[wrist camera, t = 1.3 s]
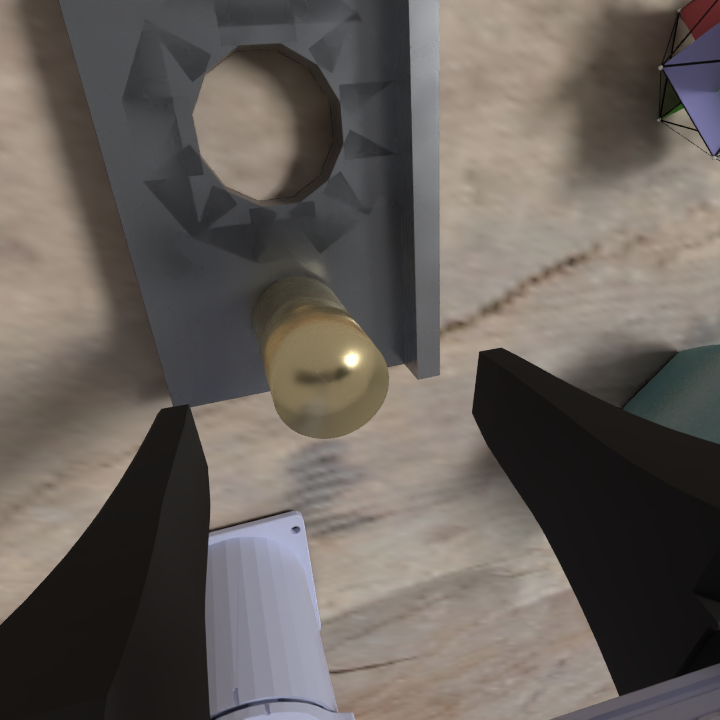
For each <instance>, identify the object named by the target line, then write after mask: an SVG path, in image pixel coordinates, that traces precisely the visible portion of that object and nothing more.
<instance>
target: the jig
mask: <svg viewBox="0 0 720 720" xmlns="http://www.w3.org/2000/svg"><path fill="white" fill-rule="evenodd" d="M59 4H60V7H61V11H62V14H63V18H64V21H65V25H66V28H67V32H68V36H69V39H70V43H71V46H72V50H73V53H74V57H75V60H76V64H77V67H78V71H79V75H80V78H81V82H82V85H83V89H84V92H85V96H86V99H87V103H88V106H89V110H90V114H91V117H92V121H93V124H94V128H95V131H96V135H97V138H98V142H99V145H100V149H101V153H102V156H103V160H104V163H105V167H106V170H107V174H108V177H109V181H110V184H111V188H112V192H113V195H114V199H115V202H116V206H117V209H118V213H119V216H120V220H121V223H122V227H123V231H124V234H125V238H126V241H127V245H128V248H129V252H130V255H131V259H132V263H133V266H134V270H135V273H136V277H137V280H138V284H139V287H140V291H141V294H142V298H143V302H144V305H145V309H146V312H147V316H148V319H149V323H150V326H151V330H152V333H153V337H154V341H155V344H156V348H157V351H158V355H159V358H160V362H161V365H162V369H163V372H164V376H165V380H166V383H167V387H168V390H169V394H170V397H171V401H172V404H173V407H175V406H180V405H186V404H189V406H190V407H194V406H199V405H204V404H209V403H214V402H219V401H224V400H229V399H234V398H238V397H243V396H248V395H253V394H258V393H263V392H268V391H270V387H269V383H268V380H267V376H266V372H265V369H264V365H263V362H262V358H261V354H260V351H259V347H258V343H257V340H256V336H255V332H254V329H253V311H254V308H255V305H256V303H257V300H258V299H259V297H260V296H261V294H262V293H263V292H264V291H265V290H266V289H267V288H268V287H269V286H270V285H272V284H273V283H275V282H277V281H279V280H281V279H284V278H287V277H291V276H306V277H311V278H314V279H317V280H319V281H321V282H322V283H324V284H325V285H327V286H328V287H329V288H330V289H331V290H332V291H333V293H334V294H335V295H336V297H337V298H338V299H339V300H340V302H341V303H342V304H343V305H344V307H345V308H346V309H347V310H348V312H349V313H350V314H351V316H352V317H353V318H354V319H355V321H356V322H357V323H358V324H359V326H360V327H361V328H362V330H363V331H364V332H365V333H366V335H367V336H368V337H369V338H370V340H371V341H372V342H373V344H374V345H375V346H376V347H377V349H378V350H379V351H380V353H381V354H382V356H383V357H384V359H385V362H386V364H387V367H391V366H396V365H401V364H405V365H406V366H407V367H408V369H409V370H410V371H411V372H412V373H413V375H414V376H415V377H416V378H417V379H418V380H419V379H424V378H428V377H433V376H438V375H440V265H439V0H59ZM263 49H275V50H277V51H278V52H280V53H282V54H284V55H285V56H287V57H289V58H291V59H292V60H294V61H296V62H298V63H299V64H301V65H303V66H305V67H306V68H308V69H309V70H310V72H311V74H312V75H313V77H314V78H315V80H316V82H317V83H318V85H319V87H320V88H321V90H322V92H323V93H324V95H325V96H326V98H327V100H328V101H329V103H330V112H331V123H332V134H333V144H332V146H331V149H330V151H329V154H328V156H327V159H326V161H325V164H324V166H323V168H322V171H321V173H320V176H319V177H317V178H316V179H315V180H313V181H312V182H311V183H310V184H308V185H307V186H306V187H305V188H303V189H302V190H301V191H299V192H298V193H297V194H296V195H294V196H293V197H287V198H278V199H270V200H262V201H258V200H256V199H253V198H251V197H249V196H247V195H244V194H242V193H240V192H237V191H235V190H233V189H230V188H228V187H226V186H225V185H224V184H223V183H222V182H221V180H220V179H219V178H218V177H217V175H216V174H215V173H214V172H213V170H212V169H211V168H210V167H209V165H208V164H207V163H206V162H205V160H204V159H203V158H202V156H201V155H200V151H199V146H198V141H197V136H196V131H195V126H194V121H193V116H192V113H193V110H194V107H195V104H196V101H197V98H198V95H199V92H200V89H201V85H202V82H203V79H204V76H205V75H206V74H207V73H208V72H210V71H211V70H212V69H213V68H215V67H216V66H217V65H218V64H220V63H221V62H222V61H223V60H225V59H226V58H227V57H228V56H230V55H231V54H232V53H233V52H235V51H244V50H263Z"/></svg>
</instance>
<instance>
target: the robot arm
mask: <svg viewBox="0 0 720 720" xmlns="http://www.w3.org/2000/svg"><path fill="white" fill-rule="evenodd" d="M472 414H473V416H474V418H475V420H476V423H477V425H478V427H479V429H480V431H481V433H482V435H483V437H484V439H485V441H486V443H487V445H488V447H489V448H490V450H491V452H492V453H493V455H494V456H495V458H496V459H497V461H498V462H499V464H500V465H501V467H502V469H503V470H504V472H505V473H506V475H507V476H508V478H509V479H510V481H511V482H512V484H513V485H514V487H515V488H516V490H517V491H518V493H519V494H520V496H521V497H522V499H523V500H524V502H525V503H526V505H527V506H528V508H529V509H530V511H531V512H532V514H533V515H534V517H535V518H536V520H537V522H538V523H539V525H540V527H541V528H542V530H543V532H544V534H545V536H546V538H547V540H548V541H549V543H550V545H551V547H552V549H553V551H554V553H555V555H556V557H557V559H558V561H559V562H560V564H561V567H562V569H563V571H564V573H565V575H566V577H567V579H568V581H569V583H570V585H571V587H572V589H573V591H574V593H575V595H576V597H577V599H578V601H579V604H580V606H581V608H582V610H583V612H584V615H585V617H586V619H587V621H588V623H589V626H590V628H591V630H592V632H593V634H594V637H595V639H596V641H597V643H598V646H599V648H600V650H601V653H602V655H603V658H604V660H605V662H606V665H607V667H608V670H609V672H610V674H611V677H612V679H613V682H614V684H615V686H616V689H617V692H618V694H619V697H617V698H614V699H611V700H608V701H605V702H602V703H599V704H595V705H592V706H589V707H586V708H583V709H580V710H577V711H574V712H571V713H568V714H565V715H562V716H559V717H556V718H553V719H550V720H720V444H718V443H714V442H711V441H707V440H704V439H701V438H698V437H695V436H692V435H689V434H686V433H682V432H679V431H676V430H673V429H671V428H668V427H665V426H662V425H659V424H657V423H654V422H652V421H649V420H647V419H644V418H642V417H639V416H637V415H634V414H631V413H629V412H627V411H624V410H622V409H620V408H618V407H615V406H613V405H611V404H609V403H607V402H605V401H603V400H600V399H598V398H596V397H594V396H592V395H590V394H588V393H586V392H584V391H582V390H580V389H578V388H576V387H574V386H572V385H570V384H569V383H567V382H565V381H563V380H561V379H559V378H557V377H555V376H554V375H552V374H550V373H548V372H546V371H544V370H543V369H541V368H539V367H537V366H535V365H534V364H532V363H530V362H528V361H526V360H525V359H523V358H521V357H519V356H517V355H515V354H513V353H511V352H509V351H507V350H505V349H503V348H497V349H491V350H486V351H480V352H479V359H478V367H477V375H476V384H475V392H474V400H473V408H472ZM209 524H210V490H209V476H208V466H207V462H206V459H205V456H204V452H203V449H202V446H201V442H200V439H199V436H198V432H197V429H196V426H195V422H194V419H193V416H192V412H191V409H190V406H189V404H186V405H180V406H175V407H169V408H164V409H161V410H160V412H159V413H158V414H157V416H156V418H155V420H154V422H153V424H152V426H151V428H150V430H149V432H148V434H147V436H146V437H145V439H144V441H143V443H142V445H141V446H140V448H139V450H138V452H137V454H136V455H135V457H134V459H133V460H132V462H131V464H130V465H129V467H128V469H127V470H126V472H125V474H124V475H123V477H122V479H121V480H120V482H119V483H118V485H117V487H116V488H115V489H114V491H113V492H112V494H111V495H110V497H109V498H108V500H107V501H106V503H105V504H104V506H103V507H102V509H101V510H100V512H99V513H98V514H97V516H96V517H95V519H94V520H93V521H92V523H91V524H90V525H89V527H88V528H87V529H86V531H85V532H84V533H83V535H82V536H81V537H80V538H79V540H78V541H77V542H76V543H75V545H74V546H73V547H72V548H71V550H70V551H69V552H68V553H67V555H66V556H65V557H64V558H63V559H62V560H61V562H60V563H59V564H58V565H57V566H56V567H55V568H54V569H53V571H52V572H51V573H50V574H49V575H48V576H47V577H46V578H45V580H44V581H43V582H42V583H41V584H40V585H39V586H38V587H37V588H36V589H35V590H34V592H33V593H32V594H31V595H30V596H29V597H28V598H27V599H26V600H25V601H24V602H23V603H22V604H21V605H20V606H19V607H18V608H17V609H16V610H15V611H14V612H13V613H12V614H11V615H10V616H9V617H8V618H7V619H6V620H5V621H4V622H3V623H2V624H1V625H0V720H355V718H354V714H353V713H352V712H346V713H338V709H337V705H336V700H335V696H334V692H333V688H332V684H331V679H330V675H329V671H328V667H327V663H326V658H325V654H324V650H323V646H322V642H321V637H320V633H319V631H320V629H321V623H320V617H319V611H318V605H317V599H316V593H315V587H314V581H313V575H312V569H311V562H310V556H309V550H308V544H307V538H306V532H305V526H304V520H303V516H302V514H301V513H300V512H298V511H291V512H287V513H283V514H280V515H276V516H272V517H268V518H264V519H260V520H256V521H252V522H249V523H245V524H241V525H237V526H233V527H229V528H225V529H221V530H218V531H214V532H210V533H209ZM295 526H298V527H297V528H295V529H292V528H293V527H295Z"/></svg>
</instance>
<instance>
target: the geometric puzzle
mask: <svg viewBox="0 0 720 720" xmlns="http://www.w3.org/2000/svg"><path fill="white" fill-rule="evenodd" d="M677 13H678V15H677V18H676V21H677V22H676V21H675V24H676V28H675V34H674V39H673V45H672V50H671V55H670V56H669V57H668V58H667V59H666V60H665V62H664V63H663V61H664V58H665V55H666V52H667V49H668V46H669V43H670V40H669V43H668V46H667V49H666V52H665V55H664V58H663V61H662V64H661V66H659V70H662V71H663V72H664V74H665V76H666V84H665V89H664V95H663V100H662V106H661V111H660V105H659V118H658V119H657V121H661V122H662V123H663V122H666V123H670V124H673V125H677V126H680V127H684V128H688V129H691V130H695V131H698V133H699V134H700V136H701V138H702V139H703V141H704V143H705V145H706V146H707V148H708V150H709V151H710V153H711V155H712V158H711V159H712V160H715V159H717V160H719V161H720V157H719V156H720V155H719V156H717V155H718V154H719V153H720V0H692V1H691V2H690V3H689V4H687V5H686V6H685V7H683V8H682V9H678V10H677ZM679 14H680V15H681V16H682V18H683V20H684V22H685V23H686V25H687V27H688V29H689V30H690V32H689V33H688V34H687V35H686V37H685V38H684V39H683V40H682V41H681V43H680V44H679V45H678V46H677V47H676V49H675V50H674V51H673V46H674V41H675V35H676V30H677V24H678V19H679ZM675 24H674V27H675ZM674 27H673V30H674ZM673 30H672V33H673ZM672 33H671V36H672ZM690 33H691V34H692V36H693V38H694V39H695V41H694V42H693V43H691V44H690V45H689V46H687V47H686V48H685V49H683V50H682V51H681V52H680V53H678V54H677V55H676V56H674V57H673V58H672V59H671V57H672V55H673V54H674V52H675V51H676V50H677V49H678V48H679V46H680V45H681V44H682V43H683V42H684V40H685V39H686V38H687V37H688V36H689V35H690ZM671 36H670V39H671ZM669 58H670V60H669V61H668V59H669ZM667 61H668V62H667ZM667 80H668V81H669V83H670V84H671V86H672V88H673V90H674V91H675V93H676V95H677V96H678V98H679V100H680V102H681V103H679V104H678V105H677V106H675V107H674V108H673V109H671V110H670V111H669V112H667V113H666V114H665V115H663V116H662V117H661V113H662V107H663V102H664V96H665V91H666V85H667ZM660 91H661V73H660ZM683 108H685V110H686V112H687V114H688V115H689V117H690V119H691V121H692V122H693V124H694V126H695V127H696V129H697V130H696V129H692V128H689V127H685V126H682V125H678V124H674V123H671V122H667V121H664V120H662V119H663V118H665V117H667V116H669V115H671V114H673V113H675V112H677V111H679V110H681V109H683ZM665 125H666V124H665ZM668 127H669V126H668ZM669 128H670V127H669ZM671 129H672V128H671ZM672 130H673V129H672ZM674 131H675V130H674ZM675 132H676V131H675ZM677 133H678V132H677ZM678 134H679V133H678ZM681 136H682V135H681ZM684 138H685V137H684ZM685 139H686V138H685ZM687 140H688V139H687ZM688 141H689V140H688ZM690 142H691V141H690ZM691 143H692V142H691ZM693 144H694V143H693ZM694 145H695V144H694ZM697 147H698V146H697ZM700 149H701V148H700ZM701 150H702V149H701ZM703 151H704V150H703ZM704 152H705V151H704ZM706 153H707V152H706ZM707 154H708V153H707ZM709 155H710V154H709ZM711 155H710V156H711ZM716 157H718V158H716Z"/></svg>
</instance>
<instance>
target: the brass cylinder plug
mask: <svg viewBox="0 0 720 720" xmlns="http://www.w3.org/2000/svg"><path fill="white" fill-rule="evenodd" d="M253 329H254V332H255V336H256V340H257V343H258V347H259V351H260V354H261V358H262V362H263V365H264V369H265V372H266V376H267V380H268V383H269V387H270V391H271V394H272V398H273V402H274V405H275V408H276V411H277V413H278V415H279V416H280V418H281V419H282V420H283V422H284V423H285V424H286V425H287V426H288V427H290V428H291V429H292V430H294V431H295V432H297V433H299V434H302V435H304V436H308V437H312V438H320V439H327V438H335V437H340V436H343V435H346V434H349V433H351V432H353V431H355V430H357V429H359V428H360V427H362V426H363V425H365V424H366V423H367V422H368V421H369V420H370V419H371V418H372V417H373V416H374V415H375V414H376V413H377V411H378V410H379V409H380V407H381V405H382V404H383V402H384V399H385V397H386V394H387V391H388V385H389V373H388V368H387V364H386V362H385V359H384V357H383V356H382V354H381V353H380V351H379V350H378V349H377V347H376V346H375V345H374V344H373V342H372V341H371V340H370V338H369V337H368V336H367V335H366V333H365V332H364V331H363V330H362V328H361V327H360V326H359V324H358V323H357V322H356V321H355V319H354V318H353V317H352V316H351V314H350V313H349V312H348V310H347V309H346V308H345V307H344V305H343V304H342V303H341V302H340V300H339V299H338V298H337V297H336V295H335V294H334V293H333V291H332V290H331V289H330V288H329V287H328V286H327V285H325V284H324V283H322V282H321V281H319V280H317V279H314V278H311V277H306V276H291V277H287V278H284V279H281V280H279V281H277V282H275V283H273V284H272V285H270V286H269V287H268V288H267V289H266V290H265V291H264V292H263V293H262V294H261V296H260V297H259V299H258V300H257V303H256V305H255V308H254V311H253Z"/></svg>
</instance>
